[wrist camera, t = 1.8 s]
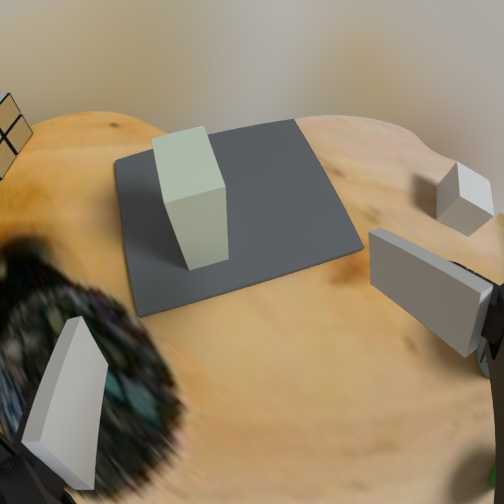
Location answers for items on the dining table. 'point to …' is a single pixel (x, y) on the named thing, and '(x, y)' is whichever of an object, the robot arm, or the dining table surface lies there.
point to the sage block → (193, 195)
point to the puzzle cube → (11, 132)
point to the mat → (235, 218)
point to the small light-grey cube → (463, 200)
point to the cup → (493, 476)
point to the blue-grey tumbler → (483, 365)
